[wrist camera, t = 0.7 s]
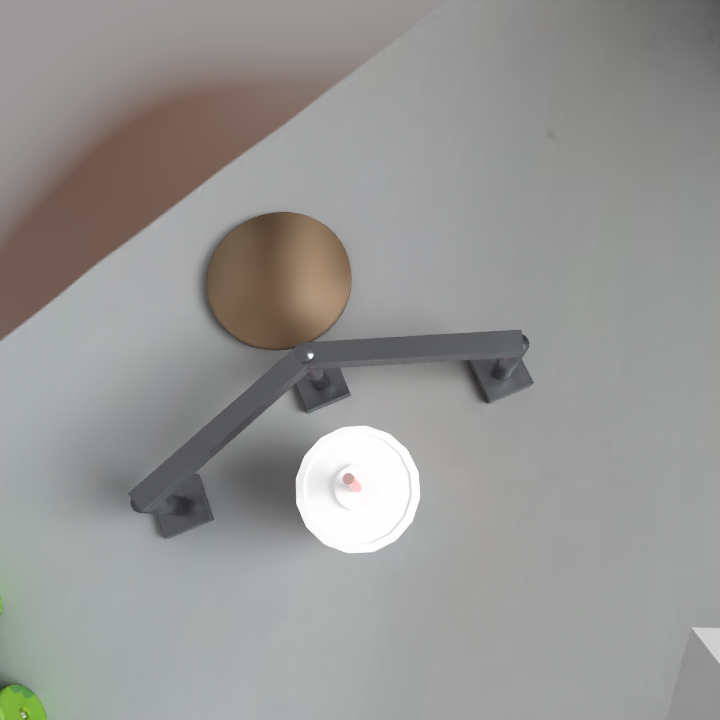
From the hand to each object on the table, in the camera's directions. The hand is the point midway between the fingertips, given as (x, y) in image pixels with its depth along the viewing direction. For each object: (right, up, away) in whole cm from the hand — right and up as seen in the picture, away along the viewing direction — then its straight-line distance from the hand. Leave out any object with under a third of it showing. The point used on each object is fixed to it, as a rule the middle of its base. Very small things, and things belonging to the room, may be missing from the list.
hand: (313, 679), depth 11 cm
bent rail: (-1, +2, +29) cm, 29 cm away
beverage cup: (+1, -3, +28) cm, 28 cm away
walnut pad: (-5, +11, +32) cm, 34 cm away
